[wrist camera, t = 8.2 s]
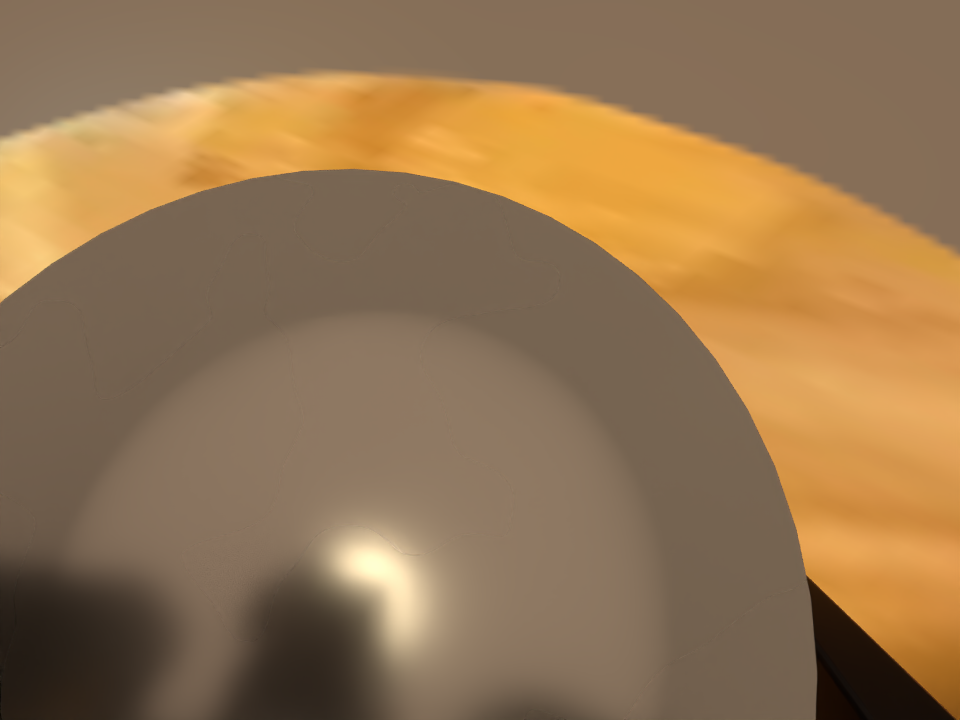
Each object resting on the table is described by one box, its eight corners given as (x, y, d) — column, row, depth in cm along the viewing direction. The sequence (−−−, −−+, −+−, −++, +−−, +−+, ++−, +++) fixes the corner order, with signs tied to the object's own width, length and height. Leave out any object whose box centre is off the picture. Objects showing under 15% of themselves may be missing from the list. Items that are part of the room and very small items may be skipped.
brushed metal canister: (455, 838, 14) (295, 1850, 3) (242, 623, 16) (-427, 656, 4) (634, 582, 16) (997, 508, 5) (426, 414, 18) (303, 49, 6)
